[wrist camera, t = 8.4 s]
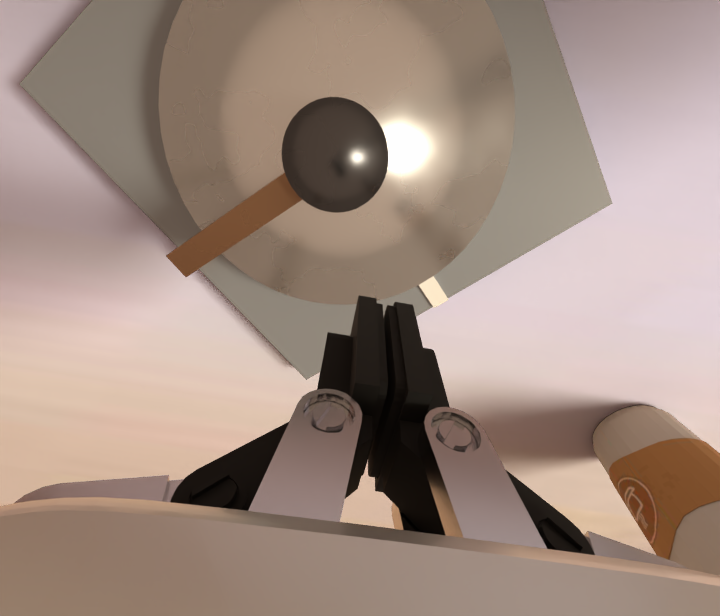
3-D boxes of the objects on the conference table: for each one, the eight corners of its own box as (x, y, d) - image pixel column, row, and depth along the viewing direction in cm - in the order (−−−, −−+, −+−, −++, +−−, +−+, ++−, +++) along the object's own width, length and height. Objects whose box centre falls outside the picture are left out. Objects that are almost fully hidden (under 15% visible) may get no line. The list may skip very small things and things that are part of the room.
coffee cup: (581, 402, 28) (785, 658, 15) (693, 384, 27) (1013, 637, 14) (573, 471, 32) (728, 723, 19) (671, 457, 31) (905, 708, 18)
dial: (406, -199, 12) (432, -361, 8) (549, 202, 19) (604, 226, 15) (87, 93, 16) (-4, 85, 12) (297, 341, 23) (284, 391, 19)
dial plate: (409, -320, 12) (417, -382, 11) (595, 197, 20) (614, 204, 19) (44, 86, 18) (15, 83, 16) (308, 366, 26) (306, 381, 24)
